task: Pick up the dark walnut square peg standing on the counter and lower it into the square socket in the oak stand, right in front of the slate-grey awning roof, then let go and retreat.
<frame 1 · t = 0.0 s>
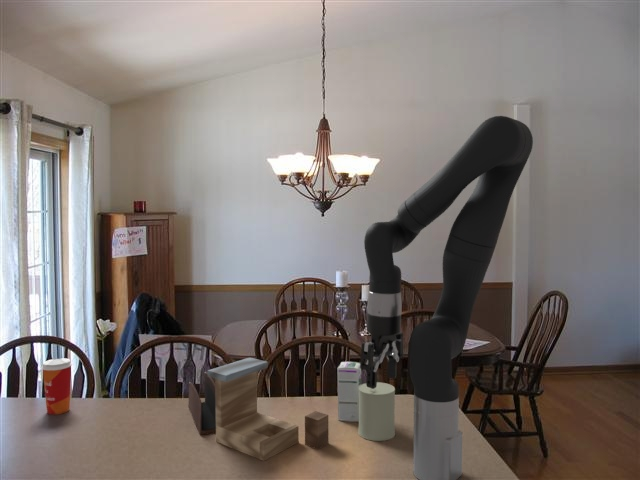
hand: (381, 382, 121), 17 cm above the table, tool pointing down, fingers open, 8 cm apart
syrup box: (349, 418, 144), on the table
letter holder: (212, 419, 144), on the table
peg: (316, 444, 128), on the table
paper cup: (58, 411, 150), on the table
socket stand: (257, 441, 130), on the table
can: (376, 433, 134), on the table
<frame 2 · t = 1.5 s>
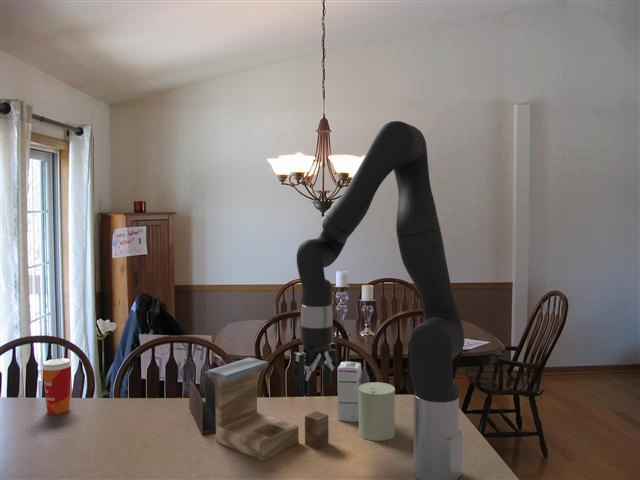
hand: (316, 390, 128), 13 cm above the table, tool pointing down, fingers open, 8 cm apart
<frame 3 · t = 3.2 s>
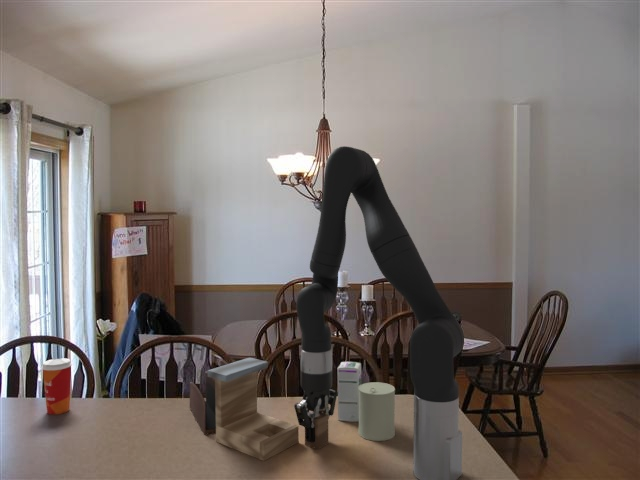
hand: (316, 437, 128), 1 cm above the table, tool pointing down, fingers closed on peg, 4 cm apart
peg: (316, 443, 128), on the table, touching gripper
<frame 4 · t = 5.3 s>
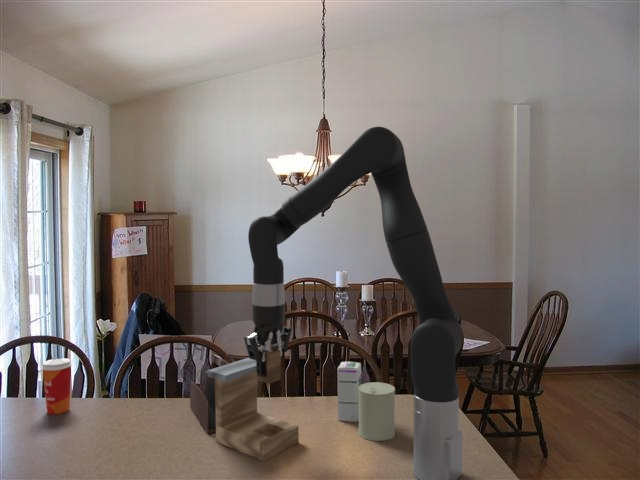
hand: (268, 373, 126), 17 cm above the table, tool pointing down, fingers closed on peg, 4 cm apart
peg: (268, 379, 126), point 16 cm above the table, touching gripper
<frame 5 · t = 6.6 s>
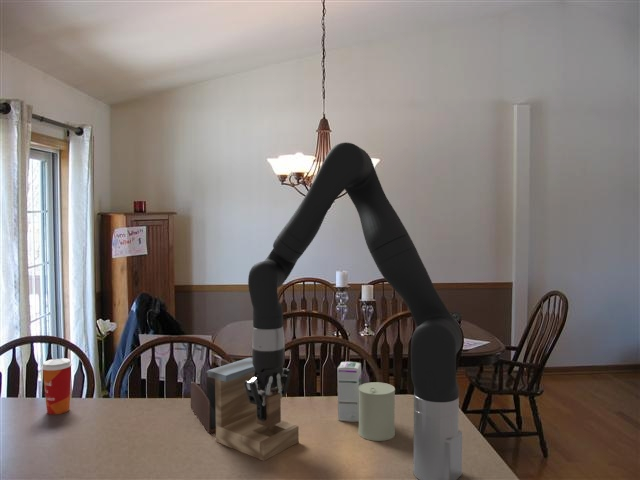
hand: (269, 416, 127), 7 cm above the table, tool pointing down, fingers closed on peg, 4 cm apart
peg: (268, 422, 127), point 6 cm above the table, touching gripper
when the fingers open (4 cm above the table, at t = 7.5 s): peg drops 3 cm, resting in socket stand.
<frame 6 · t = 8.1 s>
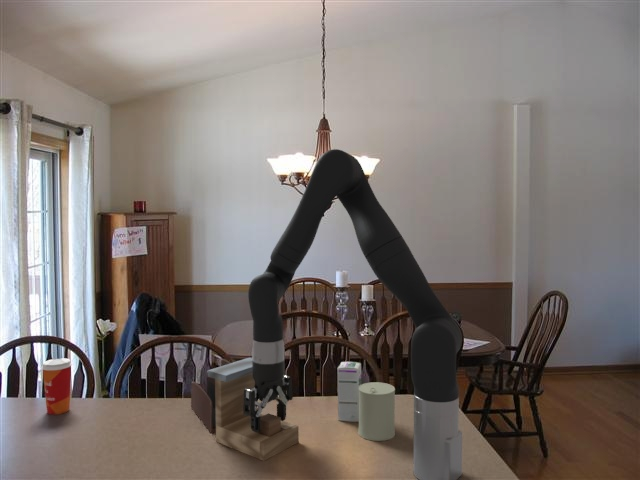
hand: (269, 425, 127), 5 cm above the table, tool pointing down, fingers open, 8 cm apart
peg: (269, 446, 127), resting in socket stand
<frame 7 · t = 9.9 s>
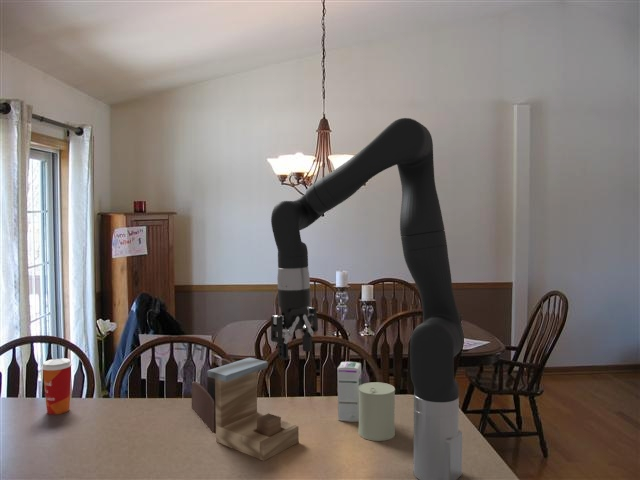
hand: (295, 355, 126), 22 cm above the table, tool pointing down, fingers open, 8 cm apart
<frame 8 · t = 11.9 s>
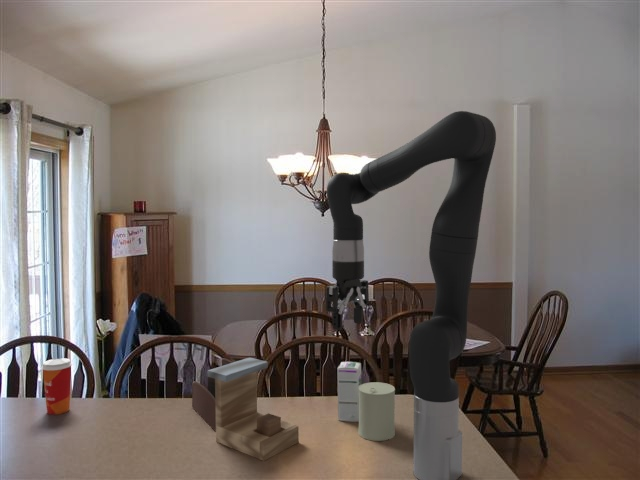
hand: (348, 326, 128), 28 cm above the table, tool pointing down, fingers open, 8 cm apart
at the end: peg 0.1 cm from the target spot on the socket stand, point 0.0 cm above the socket stand's base; peg tilted 0°; the gripper is holding nothing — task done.
